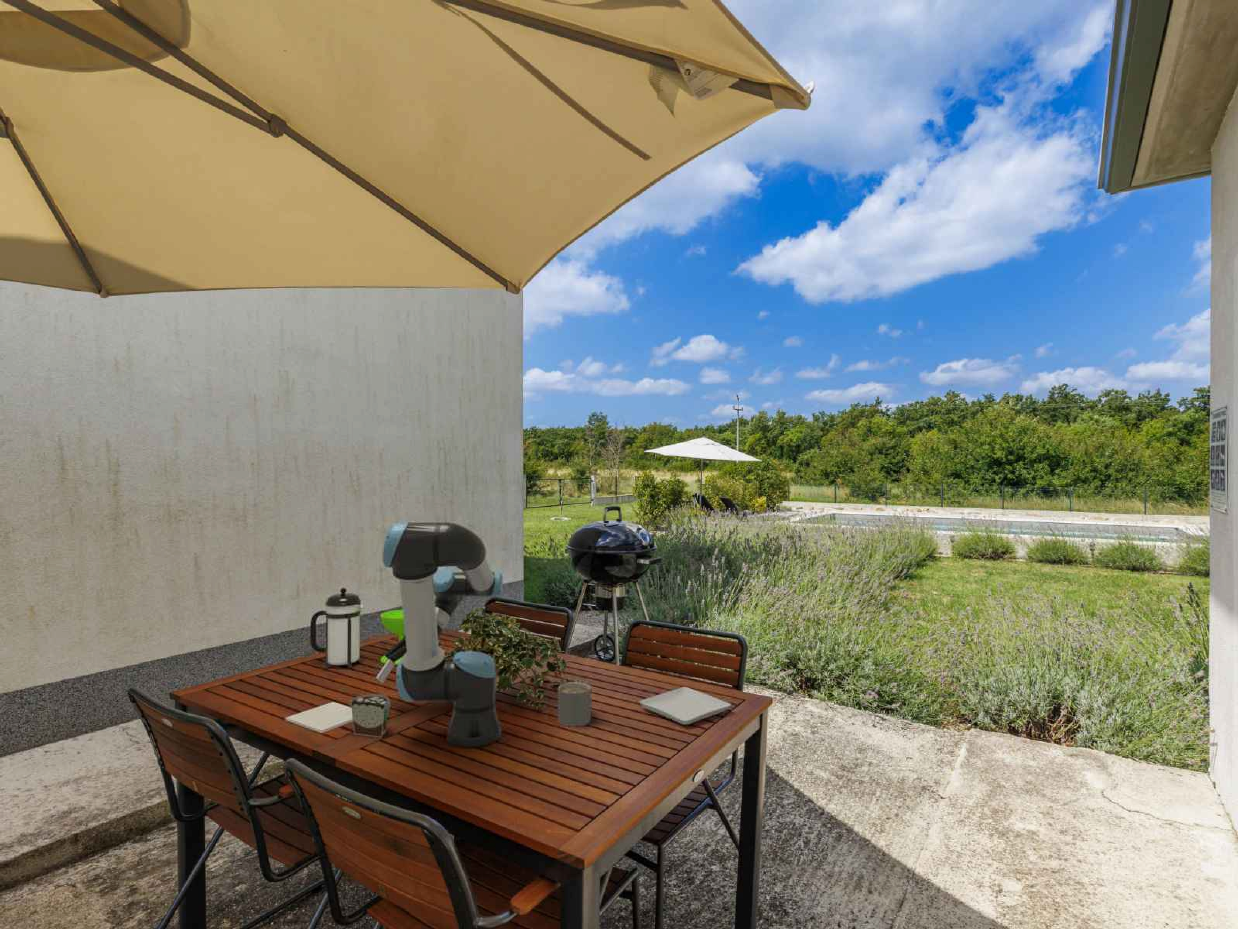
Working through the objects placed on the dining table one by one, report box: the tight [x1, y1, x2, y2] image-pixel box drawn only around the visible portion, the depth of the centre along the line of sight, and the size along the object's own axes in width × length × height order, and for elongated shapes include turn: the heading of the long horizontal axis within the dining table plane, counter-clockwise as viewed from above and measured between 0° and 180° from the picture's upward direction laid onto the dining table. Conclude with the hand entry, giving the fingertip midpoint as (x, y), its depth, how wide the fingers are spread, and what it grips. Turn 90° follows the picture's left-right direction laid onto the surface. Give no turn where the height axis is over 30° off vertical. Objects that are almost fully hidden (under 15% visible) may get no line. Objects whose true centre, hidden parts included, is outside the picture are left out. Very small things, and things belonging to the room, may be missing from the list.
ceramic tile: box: [284, 701, 353, 734], centre depth 200 cm, size 18×16×1 cm
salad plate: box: [639, 686, 732, 726], centre depth 206 cm, size 21×21×3 cm
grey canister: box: [557, 681, 592, 728], centre depth 200 cm, size 13×10×10 cm
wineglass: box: [380, 609, 405, 666], centre depth 263 cm, size 16×16×18 cm
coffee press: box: [309, 587, 364, 670], centre depth 254 cm, size 17×16×30 cm
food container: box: [349, 693, 392, 738], centre depth 190 cm, size 12×6×10 cm, turn 74°
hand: (393, 684), depth 197 cm, fingers open, 13 cm apart
